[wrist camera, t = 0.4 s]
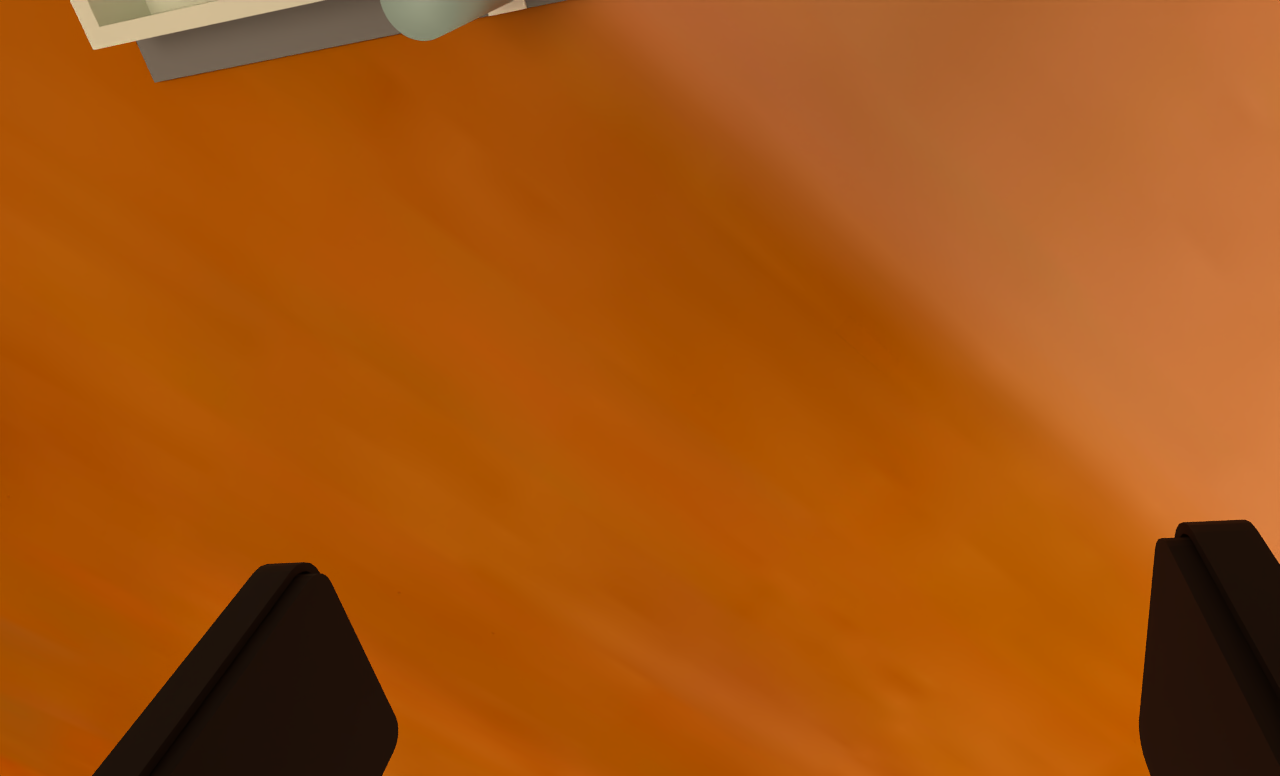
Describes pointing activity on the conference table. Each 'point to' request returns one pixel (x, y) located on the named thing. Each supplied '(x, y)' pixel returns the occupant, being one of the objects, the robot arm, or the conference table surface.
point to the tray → (162, 16)
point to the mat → (275, 36)
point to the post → (435, 15)
